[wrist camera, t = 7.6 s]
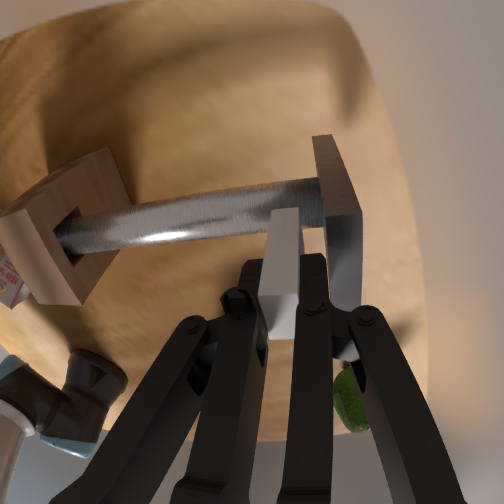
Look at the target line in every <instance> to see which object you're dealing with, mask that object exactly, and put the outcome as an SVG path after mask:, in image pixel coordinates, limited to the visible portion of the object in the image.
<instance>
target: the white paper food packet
mask: <svg viewBox="0 0 504 504" xmlns="http://www.w3.org/2000/svg"><path fill="white" fill-rule="evenodd" d="M29 294H30V290H29V289H28V287H27V286H26V284H25V283H24V281H23V280H22V278H21V277H20V275H19V274H18V272H17V270H16V269H15V267H14V266H13V264H12V262H11V261H10V259H9V257H8V256H7V254H6V255H5V256H4V257H3V258H2V259H1V260H0V302H2V303H3V304H4V305H6V306H7V307H9V308H10V309H11V310H12V309H13V308H14V307H15V306H16V305H17V304H18V303H20V302H21V301H23V300H24V299H26V298H27V296H28V295H29Z"/></svg>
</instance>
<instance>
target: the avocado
mask: <svg viewBox="0 0 504 504" xmlns="http://www.w3.org/2000/svg"><path fill="white" fill-rule="evenodd" d="M333 405H334V407H335V409H336V412H337V413H338V415H339V417H340V418H341V420H342V421H343V423H344V425H345V427H346V428H347V429H348V430H350V431H351V432H352V433H361V432H364V431H366V430H368V429H369V428H370V425H369V422H368V419H367V416H366V413H365V410H364V407H363V404H362V402H361V399H360V396H359V393H358V390H357V387H356V384H355V382H354V379H353V376H352V373H351V371H350V368H349V367H347V368H345V369H344V370H342V371H341V372H340V373H339V374H338V375H337V377H336V378H335V380H334V383H333Z"/></svg>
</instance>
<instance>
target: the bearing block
mask: <svg viewBox="0 0 504 504" xmlns="http://www.w3.org/2000/svg"><path fill="white" fill-rule="evenodd" d="M131 205H132V204H131V201H130V199H129V197H128V194H127V192H126V189H125V187H124V184H123V181H122V179H121V176H120V174H119V171H118V168H117V166H116V163H115V160H114V158H113V155H112V152H111V150H110V147H109V146H108V147H105V148H102V149H99V150H97V151H94V152H91V153H88V154H86V155H83V156H81V157H78V158H76V159H73V160H71V161H68V162H66V163H65V164H63V165H62V166H60V167H59V168H57V169H56V170H54V171H53V172H52V173H50V174H49V175H47V176H46V177H45V178H43V179H42V180H41V181H39V182H38V183H37V184H35V185H34V186H33V187H31V188H30V189H29V190H28V191H26V192H25V193H24V194H22V195H21V196H20V197H19V198H17V199H16V200H15V201H14V202H13V203H11V204H10V205H9V206H8V207H7V208H5V209H4V210H3V211H2V212H1V213H0V244H1V245H2V247H3V249H4V251H5V252H6V254H7V256H8V257H9V259H10V261H11V262H12V264H13V266H14V267H15V269H16V270H17V272H18V274H19V275H20V277H21V278H22V280H23V281H24V283H25V284H26V286H27V287H28V289H29V290H30V292H31V293H32V295H33V296H34V297H35V299H36V300H37V302H38V303H39V304H48V305H80V306H82V305H83V303H84V302H85V300H86V299H87V297H88V296H89V294H90V293H91V291H92V290H93V288H94V287H95V285H96V284H97V282H98V281H99V279H100V278H101V276H102V275H103V273H104V272H105V271H106V269H107V268H108V266H109V265H110V263H111V262H112V261H113V259H114V258H115V256H116V255H117V254H118V252H119V251H120V249H117V250H109V251H101V252H93V253H85V254H78V255H70V256H66V254H65V252H64V251H63V249H62V247H61V245H60V243H59V242H58V240H57V238H56V236H55V234H54V232H53V229H54V228H55V227H56V226H57V225H58V224H59V223H60V222H61V221H64V220H68V219H73V218H77V217H81V216H85V215H90V214H94V213H98V212H103V211H107V210H112V209H117V208H121V207H126V206H131Z"/></svg>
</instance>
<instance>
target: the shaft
mask: <svg viewBox="0 0 504 504" xmlns="http://www.w3.org/2000/svg"><path fill="white" fill-rule="evenodd" d="M312 141H313V148H314V155H315V163H316V170H317V177H313V178H304V179H295V180H286V181H278V182H270V183H262V184H255V185H248V186H241V187H234V188H227V189H220V190H214V191H208V192H202V193H196V194H190V195H184V196H178V197H173V198H167V199H162V200H156V201H151V202H146V203H141V204H136V205H131V206H126V207H121V208H117V209H112V210H107V211H103V212H98V213H94V214H90V215H85V216H81V217H77V218H73V219H68V220H64V221H61V222H60V223H59V224H58V225H57V226H56V227H55V228H54V229H53V232H54V234H55V236H56V238H57V240H58V242H59V243H60V245H61V247H62V249H63V251H64V252H65V254H66V256H70V255H78V254H85V253H93V252H101V251H109V250H117V249H125V248H133V247H142V246H150V245H158V244H167V243H176V242H184V241H193V240H202V239H211V238H220V237H230V236H239V235H249V234H258V233H268V229H269V223H270V217H271V211H272V210H275V209H284V208H293V207H299V212H300V219H301V226H302V229H309V228H319V227H323V229H324V238H325V247H326V257H327V267H328V278H329V290H330V301H331V303H332V304H333V305H334V306H335V307H336V308H338V309H341V310H344V311H350V312H351V311H352V310H353V309H354V308H357V307H359V306H361V292H362V261H363V218H362V211H361V208H360V205H359V202H358V199H357V197H356V194H355V191H354V188H353V186H352V183H351V180H350V178H349V175H348V173H347V170H346V168H345V165H344V163H343V160H342V158H341V155H340V153H339V150H338V148H337V146H336V143H335V141H334V139H333V136H332V134H329V135H319V136H312Z"/></svg>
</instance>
